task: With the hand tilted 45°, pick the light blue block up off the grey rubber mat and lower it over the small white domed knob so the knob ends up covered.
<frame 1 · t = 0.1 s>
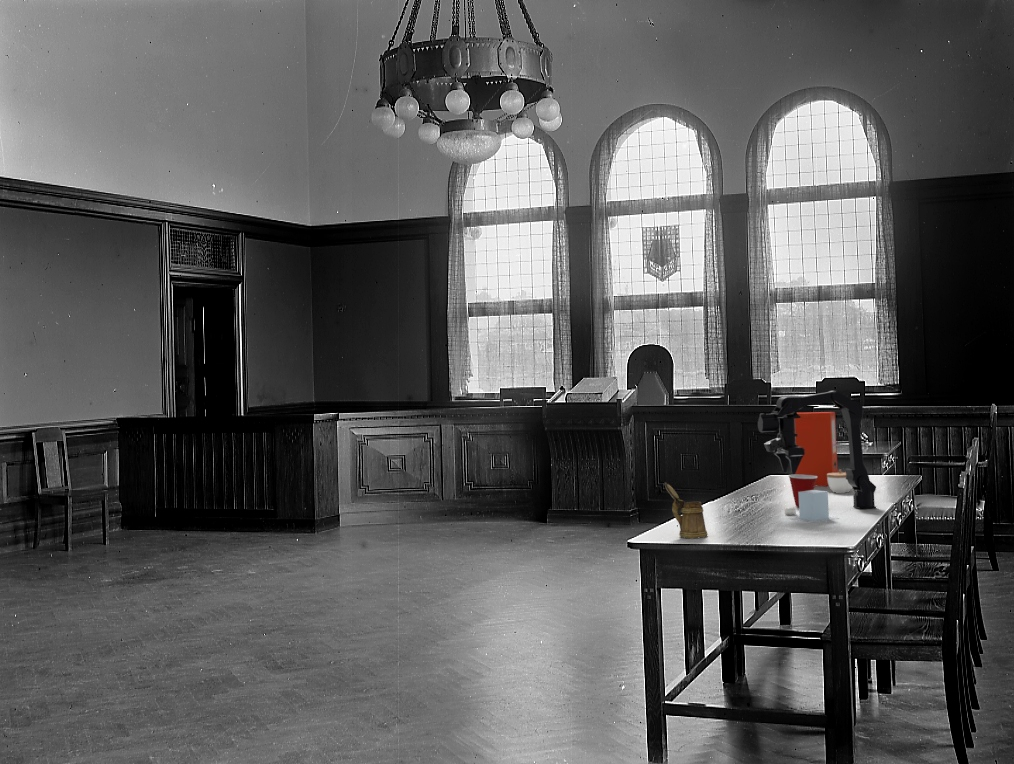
hand: (789, 473, 402), 15 cm above the table, tool pointing down, fingers open, 9 cm apart
lidded jar: (841, 492, 453), on the table
plastic cup: (804, 506, 417), on the table
file binder: (816, 485, 480), on the table
mat: (814, 519, 383), on the table
white domed knob: (790, 515, 395), on the table
wooden mug: (687, 537, 361), on the table
light blue block: (814, 518, 383), resting on mat
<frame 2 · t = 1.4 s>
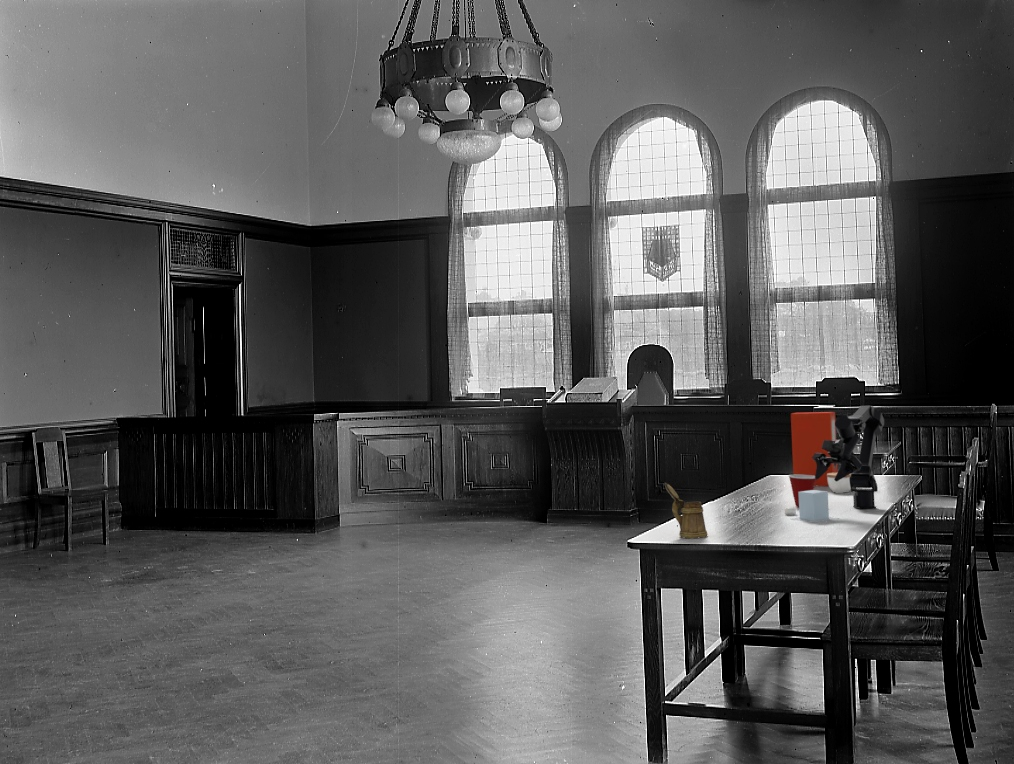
hand: (825, 479, 386), 13 cm above the table, tool tilted 45°, fingers open, 9 cm apart
nothing on the table moved.
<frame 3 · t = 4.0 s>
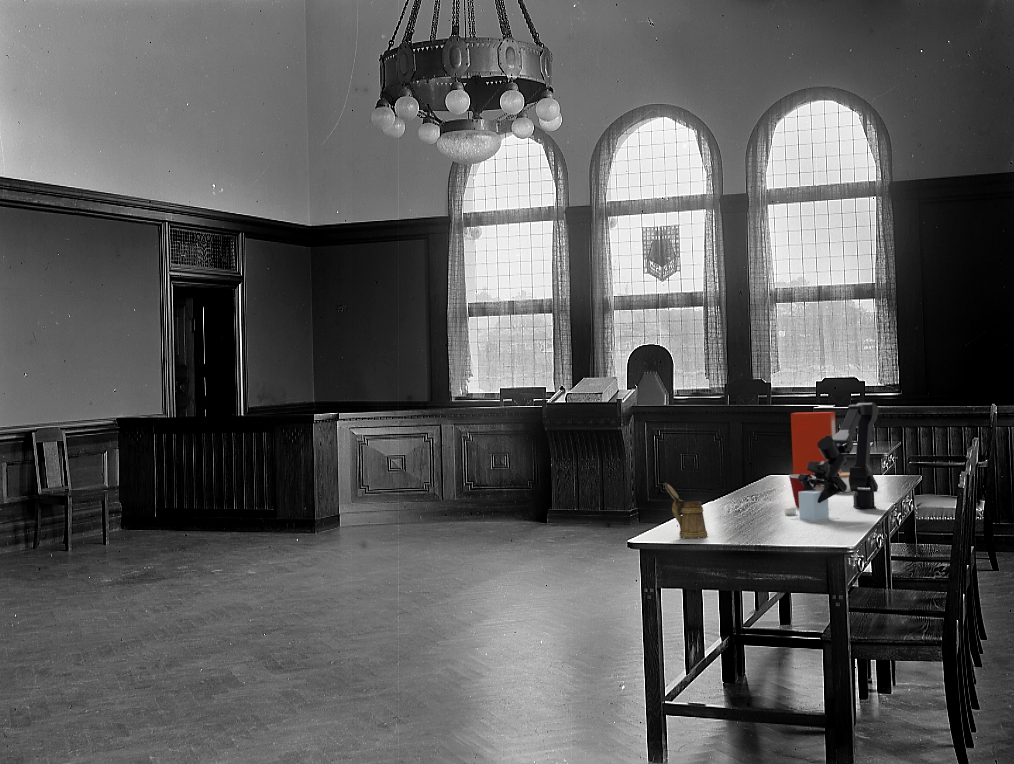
hand: (810, 501, 382), 7 cm above the table, tool tilted 45°, fingers closed on light blue block, 7 cm apart
light blue block: (814, 518, 383), resting on mat, touching gripper
everything else where it was.
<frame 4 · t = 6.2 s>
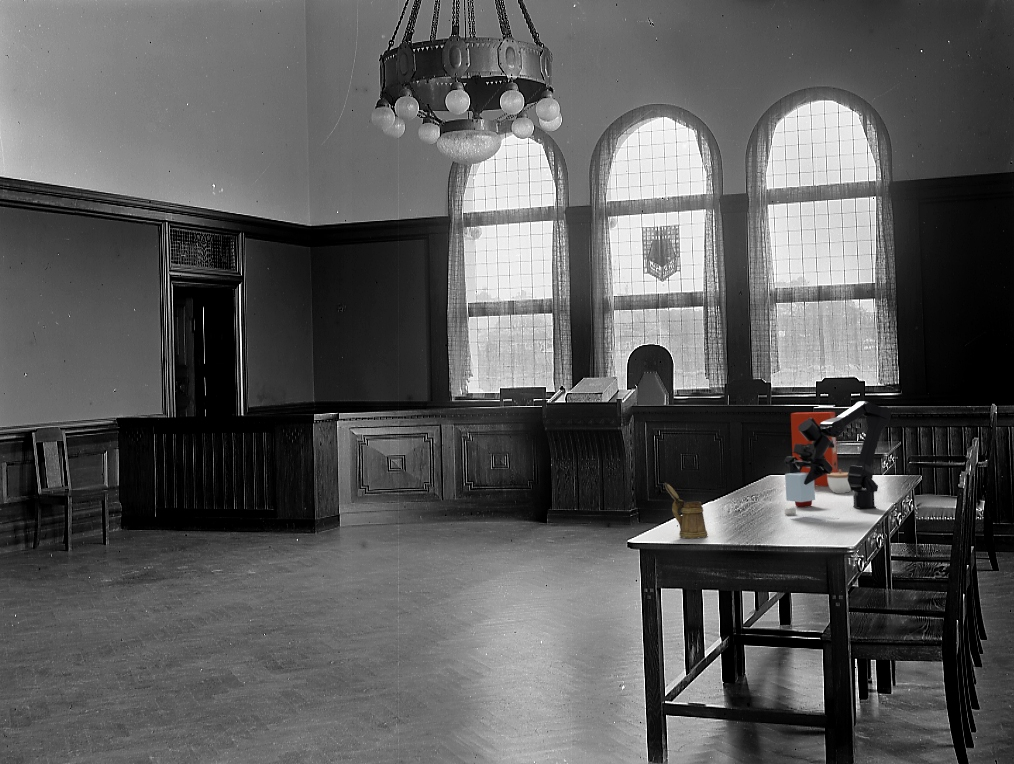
hand: (797, 483, 388), 12 cm above the table, tool tilted 45°, fingers closed on light blue block, 7 cm apart
light blue block: (800, 500, 389), point 6 cm above the table, touching gripper
everything else where it was.
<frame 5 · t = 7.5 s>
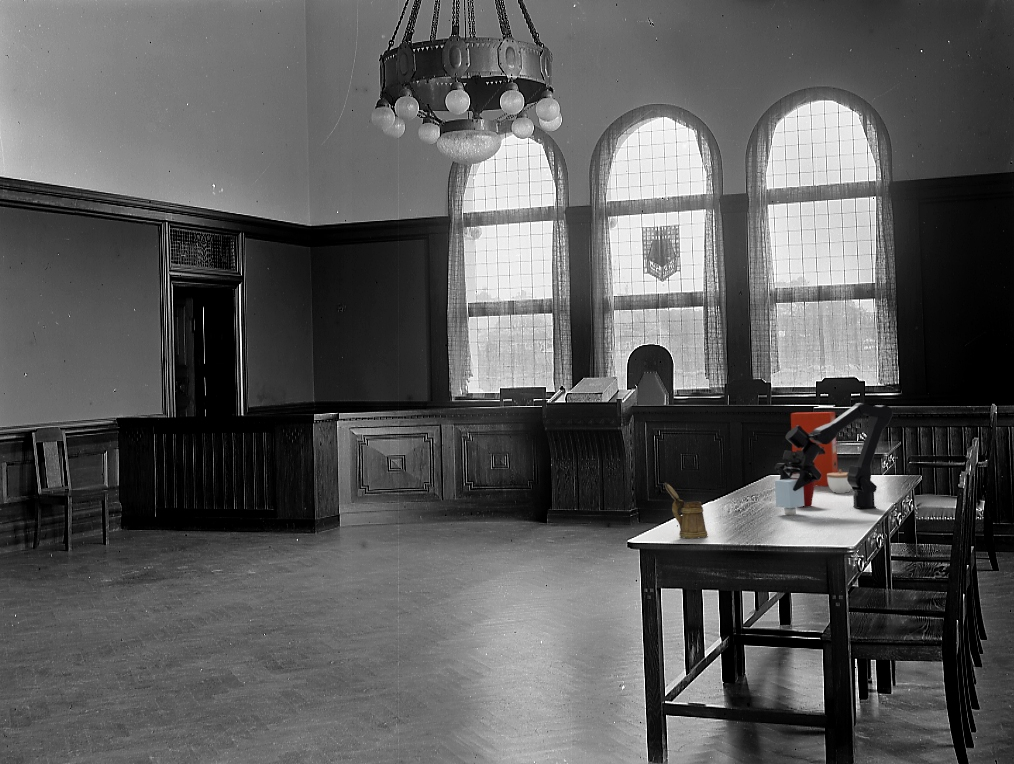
hand: (786, 489, 394), 10 cm above the table, tool tilted 45°, fingers closed on light blue block, 7 cm apart
light blue block: (790, 506, 395), point 3 cm above the table, touching gripper
everything else where it was.
when the fingers open (7 cm above the table, at t = 8.5 s): light blue block drops 1 cm, on the table.
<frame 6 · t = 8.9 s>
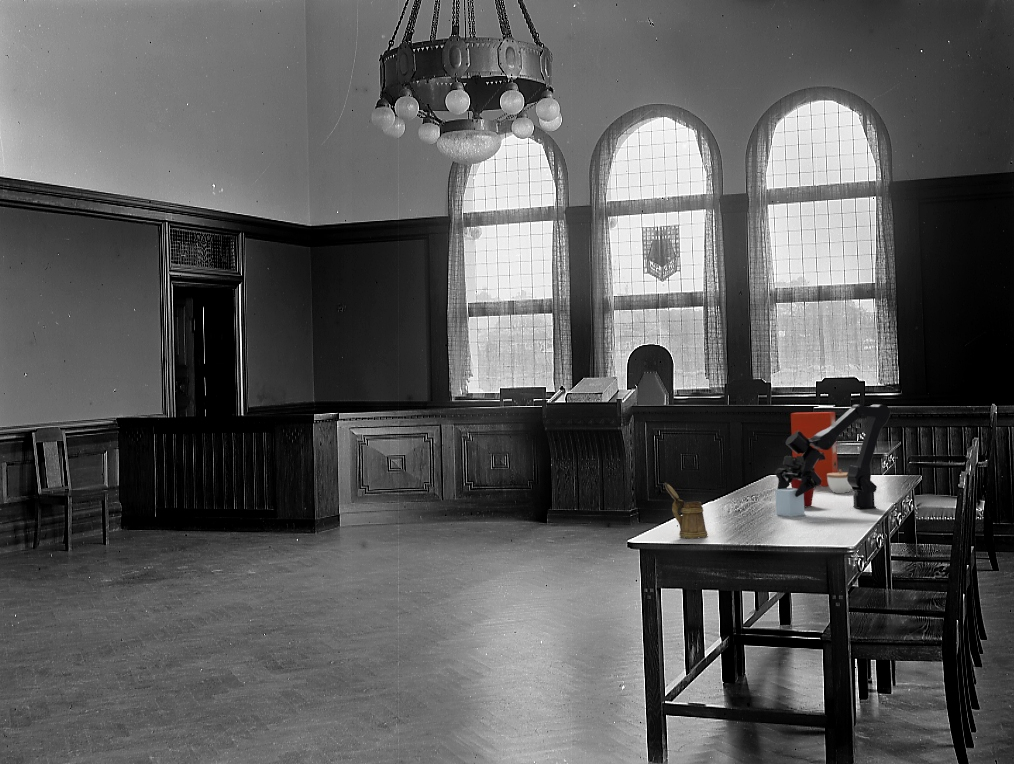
hand: (786, 495, 394), 8 cm above the table, tool tilted 45°, fingers open, 9 cm apart
light blue block: (790, 515, 395), on the table
everything else where it was.
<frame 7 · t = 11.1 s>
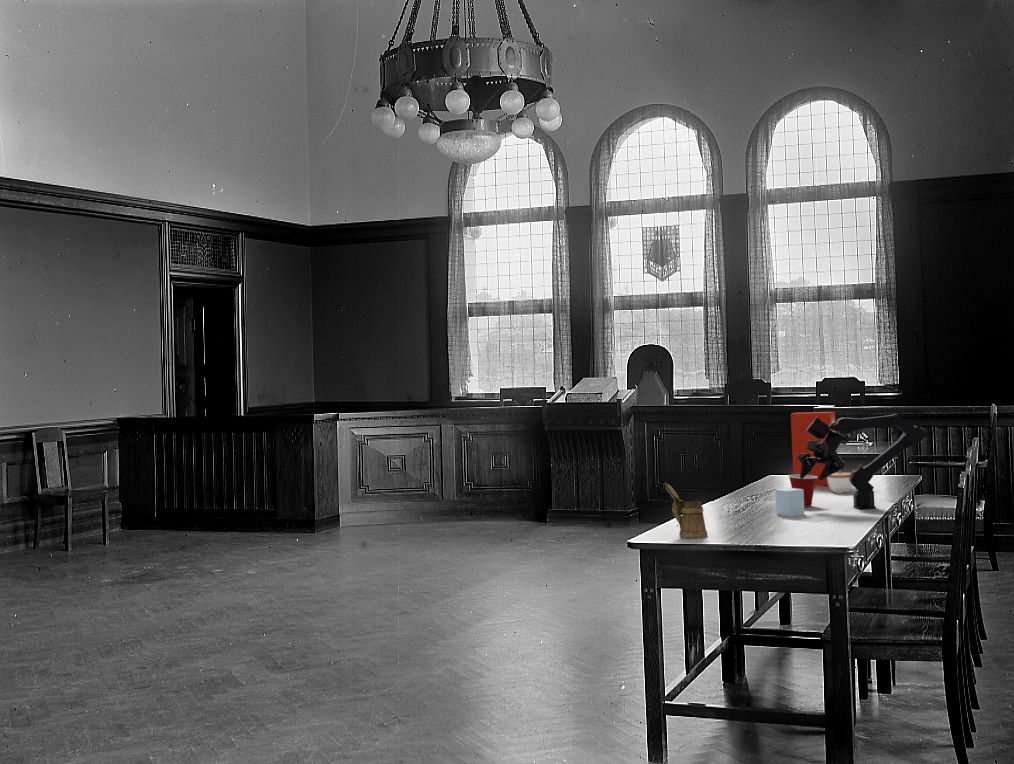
hand: (810, 478, 400), 12 cm above the table, tool tilted 45°, fingers open, 9 cm apart
nothing on the table moved.
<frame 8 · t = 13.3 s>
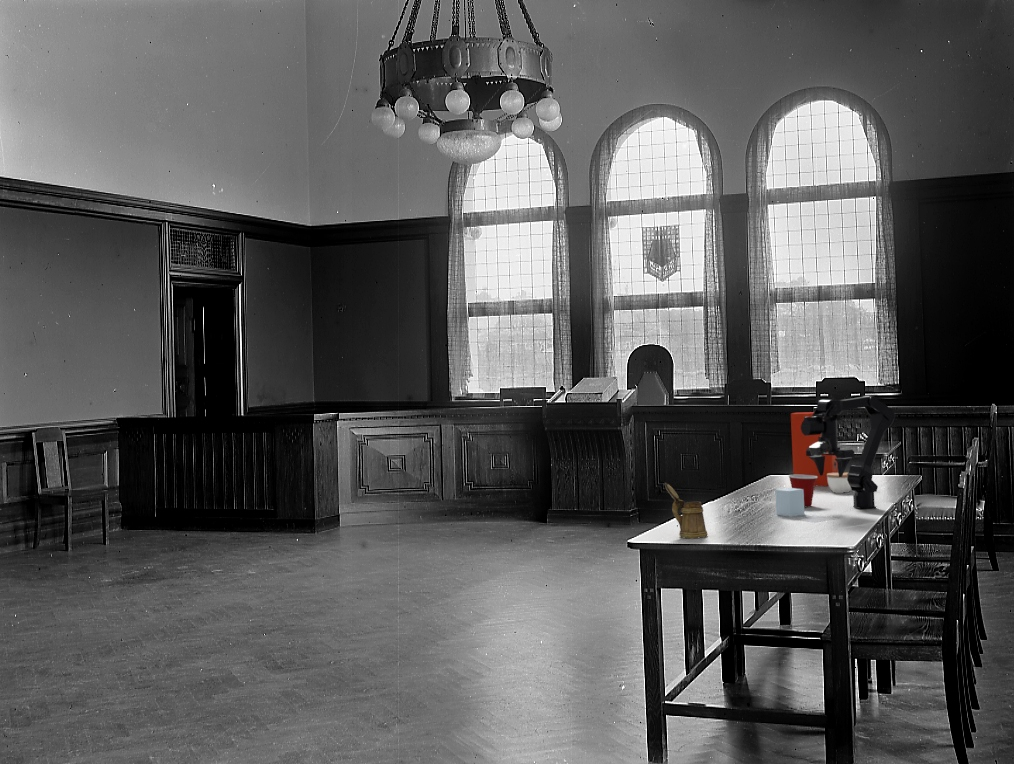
hand: (830, 476, 399), 13 cm above the table, tool pointing down, fingers open, 9 cm apart
nothing on the table moved.
at the end: light blue block 0.0 cm off-centre on the white domed knob, point 0.1 cm above the white domed knob's base; light blue block tilted 0°; the gripper is holding nothing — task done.
